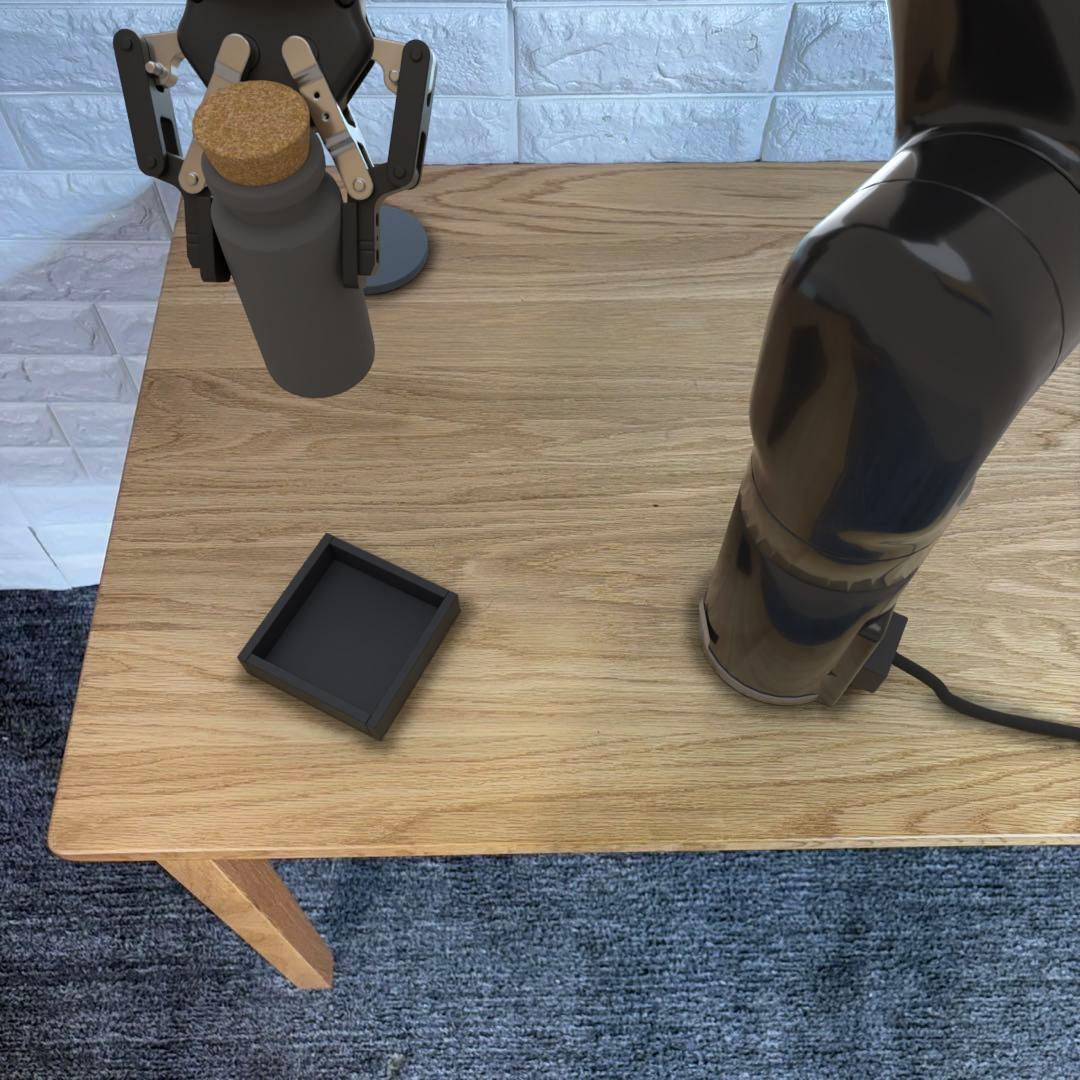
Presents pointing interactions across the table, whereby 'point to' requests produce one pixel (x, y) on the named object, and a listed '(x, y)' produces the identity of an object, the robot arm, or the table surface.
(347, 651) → the tray
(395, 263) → the mat
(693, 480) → the table surface
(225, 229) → the bottle
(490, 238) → the table surface
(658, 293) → the table surface
